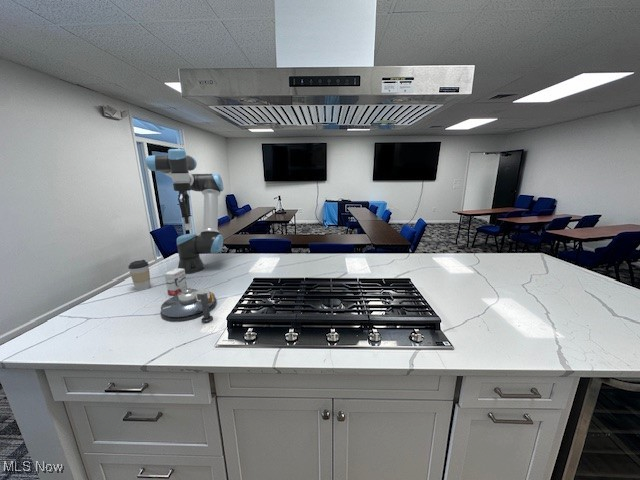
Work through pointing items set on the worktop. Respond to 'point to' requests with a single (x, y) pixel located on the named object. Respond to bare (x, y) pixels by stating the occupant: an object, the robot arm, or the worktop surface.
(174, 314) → the turntable
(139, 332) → the worktop surface
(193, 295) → the cover
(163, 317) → the base
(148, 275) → the coffee cup
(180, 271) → the ink box
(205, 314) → the dial post
